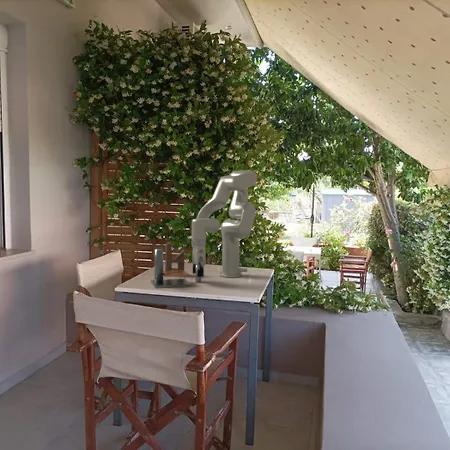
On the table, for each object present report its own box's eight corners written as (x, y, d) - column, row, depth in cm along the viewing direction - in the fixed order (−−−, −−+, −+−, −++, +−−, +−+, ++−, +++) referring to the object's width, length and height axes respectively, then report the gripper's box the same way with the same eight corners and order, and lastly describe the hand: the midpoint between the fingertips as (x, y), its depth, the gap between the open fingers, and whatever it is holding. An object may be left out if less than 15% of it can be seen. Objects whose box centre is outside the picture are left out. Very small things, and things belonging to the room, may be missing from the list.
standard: (155, 288, 216) (155, 251, 215) (150, 282, 230) (150, 247, 228) (191, 286, 222) (191, 250, 221) (184, 280, 235) (184, 246, 234)
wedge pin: (200, 281, 233) (200, 262, 233) (202, 282, 231) (202, 263, 230) (194, 281, 233) (195, 262, 232) (196, 282, 230) (196, 263, 229)
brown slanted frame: (184, 275, 249) (184, 243, 247) (165, 275, 247) (165, 243, 246) (183, 274, 252) (184, 242, 251) (164, 274, 251) (164, 242, 249)
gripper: (210, 244, 223) (209, 278, 224) (201, 240, 239) (200, 272, 240) (195, 244, 220) (195, 278, 222) (187, 240, 237) (187, 272, 238)
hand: (198, 275), depth 231 cm, fingers open, 9 cm apart
